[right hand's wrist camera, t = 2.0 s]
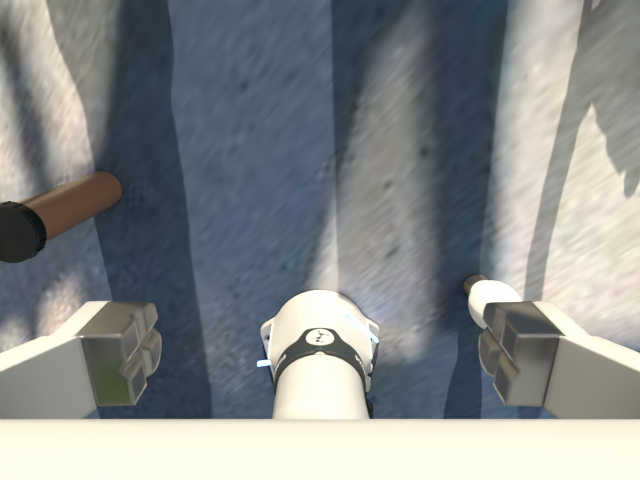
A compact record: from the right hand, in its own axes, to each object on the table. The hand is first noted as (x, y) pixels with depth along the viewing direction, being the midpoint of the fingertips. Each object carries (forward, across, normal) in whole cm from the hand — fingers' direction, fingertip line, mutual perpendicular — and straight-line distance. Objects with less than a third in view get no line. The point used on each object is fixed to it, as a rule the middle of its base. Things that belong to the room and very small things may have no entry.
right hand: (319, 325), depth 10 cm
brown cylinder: (+48, -30, -8) cm, 57 cm away
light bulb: (+48, +24, -23) cm, 58 cm away
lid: (+29, -30, -8) cm, 43 cm away
